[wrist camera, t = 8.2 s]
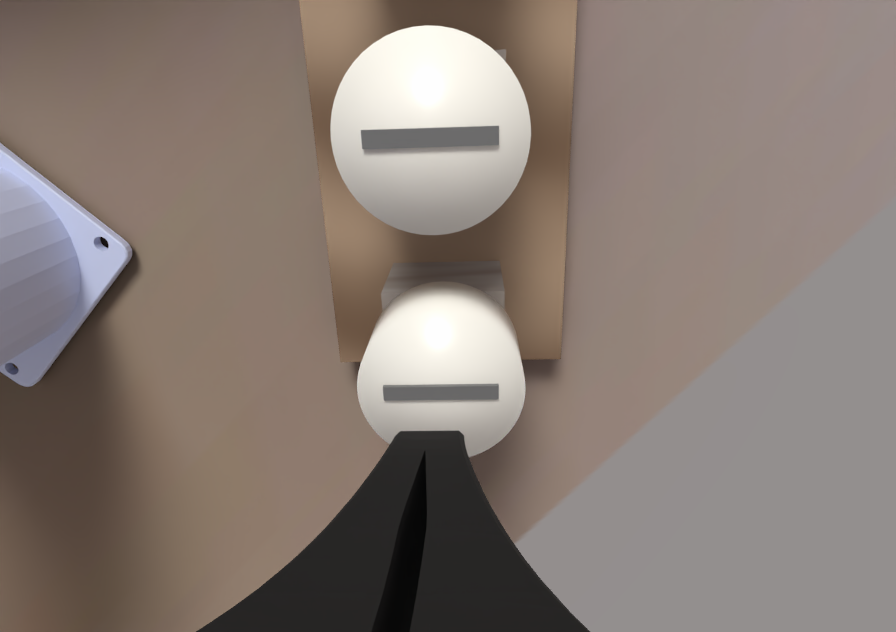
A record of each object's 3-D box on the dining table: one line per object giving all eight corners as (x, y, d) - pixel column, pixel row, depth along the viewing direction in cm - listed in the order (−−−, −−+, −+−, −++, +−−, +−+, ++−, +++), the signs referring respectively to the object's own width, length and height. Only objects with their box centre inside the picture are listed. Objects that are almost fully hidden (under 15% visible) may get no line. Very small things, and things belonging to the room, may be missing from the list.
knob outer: (389, 370, 21) (363, 464, 16) (380, 253, 19) (348, 316, 14) (510, 368, 21) (524, 462, 16) (511, 250, 19) (527, 313, 14)
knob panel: (290, -191, 16) (229, -283, 12) (577, -207, 16) (616, -306, 12) (348, 344, 23) (321, 404, 18) (554, 341, 22) (574, 402, 18)
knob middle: (375, 194, 19) (340, 238, 14) (363, 43, 17) (318, 28, 12) (512, 191, 18) (529, 234, 13) (514, 38, 17) (534, 20, 12)
